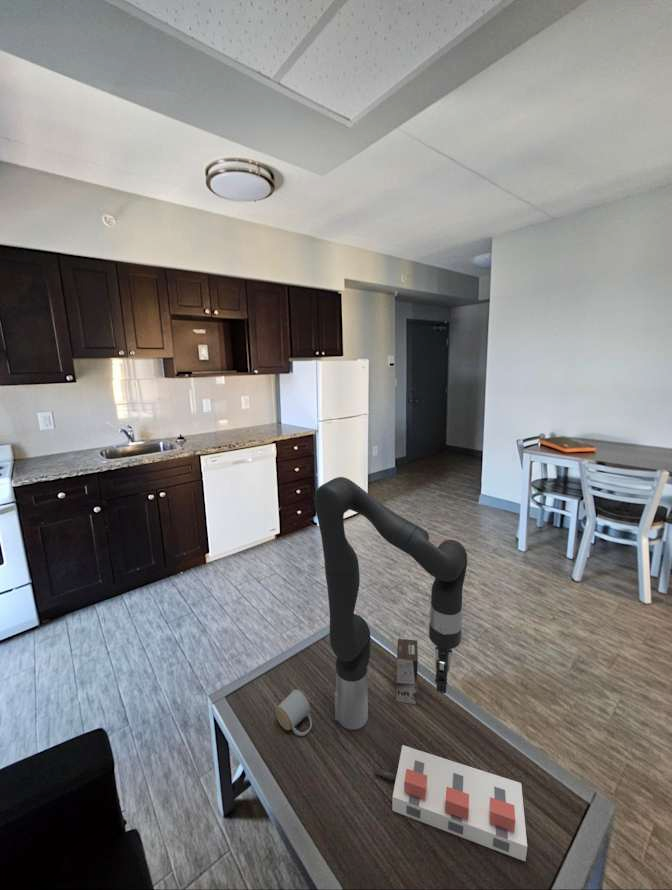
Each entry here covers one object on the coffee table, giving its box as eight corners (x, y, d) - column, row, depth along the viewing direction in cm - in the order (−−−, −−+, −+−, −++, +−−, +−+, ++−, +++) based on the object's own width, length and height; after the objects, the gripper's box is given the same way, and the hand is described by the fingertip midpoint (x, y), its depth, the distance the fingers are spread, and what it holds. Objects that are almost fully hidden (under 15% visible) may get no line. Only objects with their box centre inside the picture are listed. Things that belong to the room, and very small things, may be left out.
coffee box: (416, 704, 120) (417, 661, 116) (395, 701, 121) (396, 658, 117) (416, 680, 128) (417, 639, 124) (397, 677, 130) (397, 637, 126)
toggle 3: (489, 823, 85) (490, 811, 84) (489, 808, 88) (490, 796, 87) (514, 832, 84) (515, 820, 83) (512, 816, 86) (514, 805, 85)
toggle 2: (444, 811, 88) (445, 800, 87) (445, 797, 90) (446, 786, 89) (467, 820, 86) (468, 808, 85) (468, 805, 89) (469, 794, 88)
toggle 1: (404, 792, 92) (404, 781, 91) (406, 779, 94) (406, 768, 94) (425, 799, 90) (425, 788, 89) (426, 786, 93) (427, 775, 92)
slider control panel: (368, 802, 94) (367, 787, 93) (380, 750, 106) (380, 737, 105) (525, 862, 82) (527, 846, 81) (519, 797, 94) (521, 782, 93)
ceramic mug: (274, 722, 115) (273, 702, 113) (294, 703, 121) (293, 683, 119) (299, 745, 108) (297, 724, 107) (318, 724, 114) (318, 703, 113)
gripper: (432, 600, 99) (430, 653, 103) (425, 638, 86) (423, 697, 90) (463, 606, 97) (459, 660, 101) (460, 646, 84) (457, 706, 88)
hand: (442, 677), depth 96 cm, fingers open, 8 cm apart
